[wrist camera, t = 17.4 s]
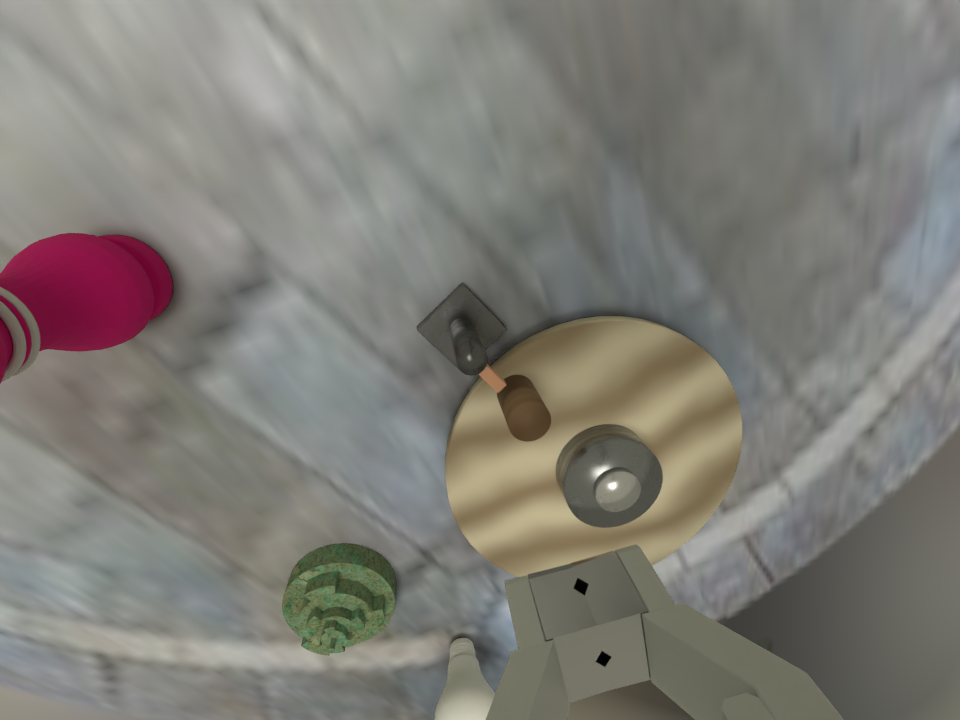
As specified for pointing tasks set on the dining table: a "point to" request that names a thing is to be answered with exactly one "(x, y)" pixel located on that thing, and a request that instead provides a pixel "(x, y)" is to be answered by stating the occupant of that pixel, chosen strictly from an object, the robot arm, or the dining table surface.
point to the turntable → (573, 408)
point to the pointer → (464, 334)
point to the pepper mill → (77, 296)
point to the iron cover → (608, 476)
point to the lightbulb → (464, 686)
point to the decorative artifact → (339, 597)
